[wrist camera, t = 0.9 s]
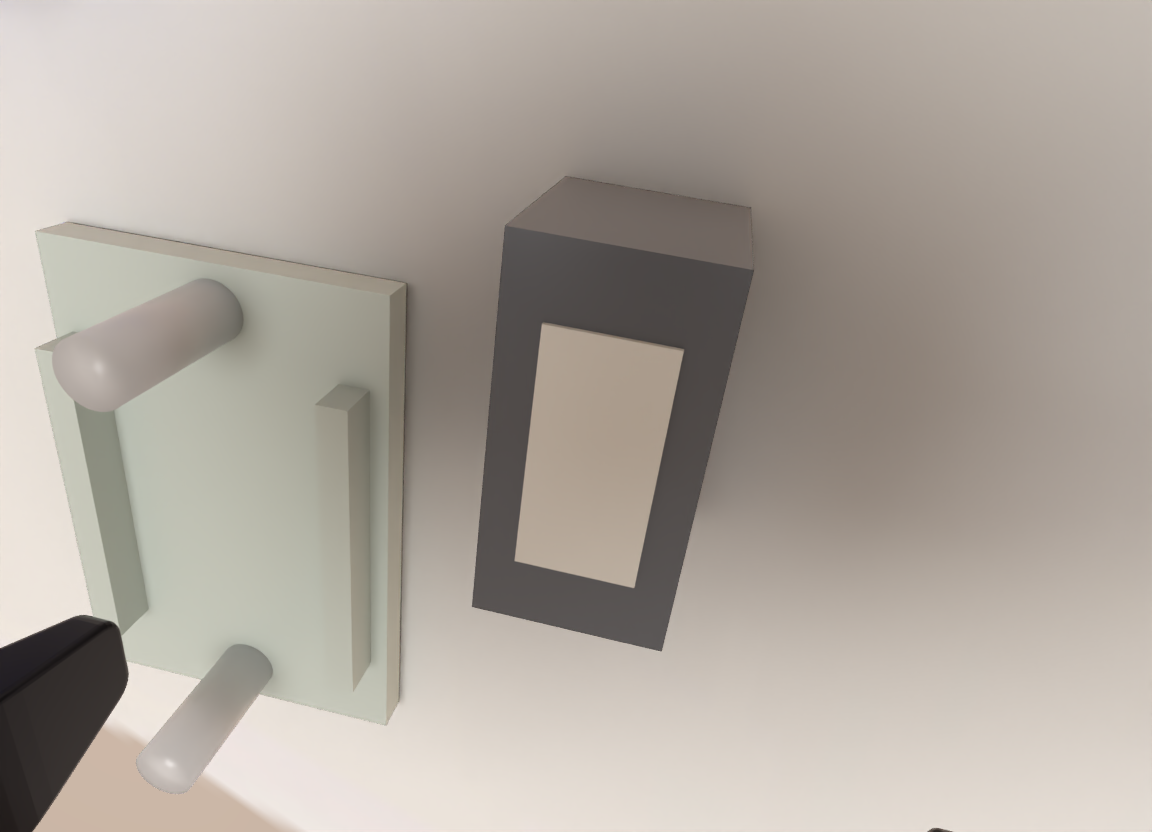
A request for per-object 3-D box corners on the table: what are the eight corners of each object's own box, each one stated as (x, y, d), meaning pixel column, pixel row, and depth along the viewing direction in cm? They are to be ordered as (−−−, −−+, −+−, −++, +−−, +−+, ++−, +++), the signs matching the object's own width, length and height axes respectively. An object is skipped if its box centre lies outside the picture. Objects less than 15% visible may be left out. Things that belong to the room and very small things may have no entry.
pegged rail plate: (406, 283, 19) (302, 360, 14) (398, 701, 25) (325, 844, 21) (67, 222, 20) (-130, 277, 15) (143, 638, 26) (21, 762, 22)
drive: (750, 206, 16) (754, 271, 12) (679, 515, 20) (660, 654, 16) (566, 175, 17) (503, 226, 12) (529, 483, 21) (470, 609, 16)
